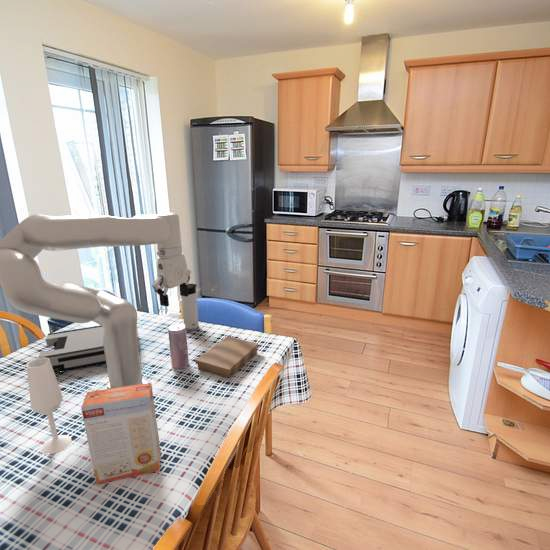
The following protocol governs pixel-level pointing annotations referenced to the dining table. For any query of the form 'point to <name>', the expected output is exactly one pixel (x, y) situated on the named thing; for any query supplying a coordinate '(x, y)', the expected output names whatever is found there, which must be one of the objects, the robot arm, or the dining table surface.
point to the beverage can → (178, 346)
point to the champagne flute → (46, 399)
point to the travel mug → (190, 309)
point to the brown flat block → (227, 357)
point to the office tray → (76, 348)
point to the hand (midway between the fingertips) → (174, 300)
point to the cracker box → (122, 432)
